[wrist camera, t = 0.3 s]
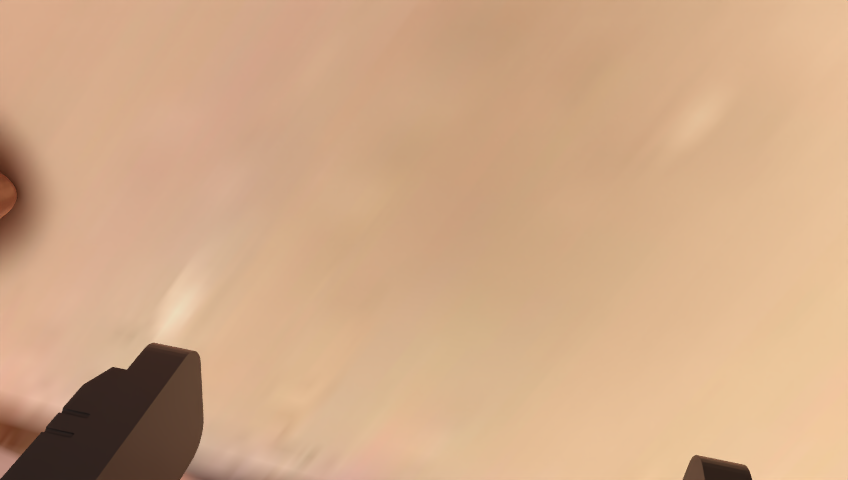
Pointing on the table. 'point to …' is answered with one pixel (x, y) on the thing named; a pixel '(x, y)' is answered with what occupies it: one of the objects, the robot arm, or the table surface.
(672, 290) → the table surface
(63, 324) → the table surface
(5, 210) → the cupcake
